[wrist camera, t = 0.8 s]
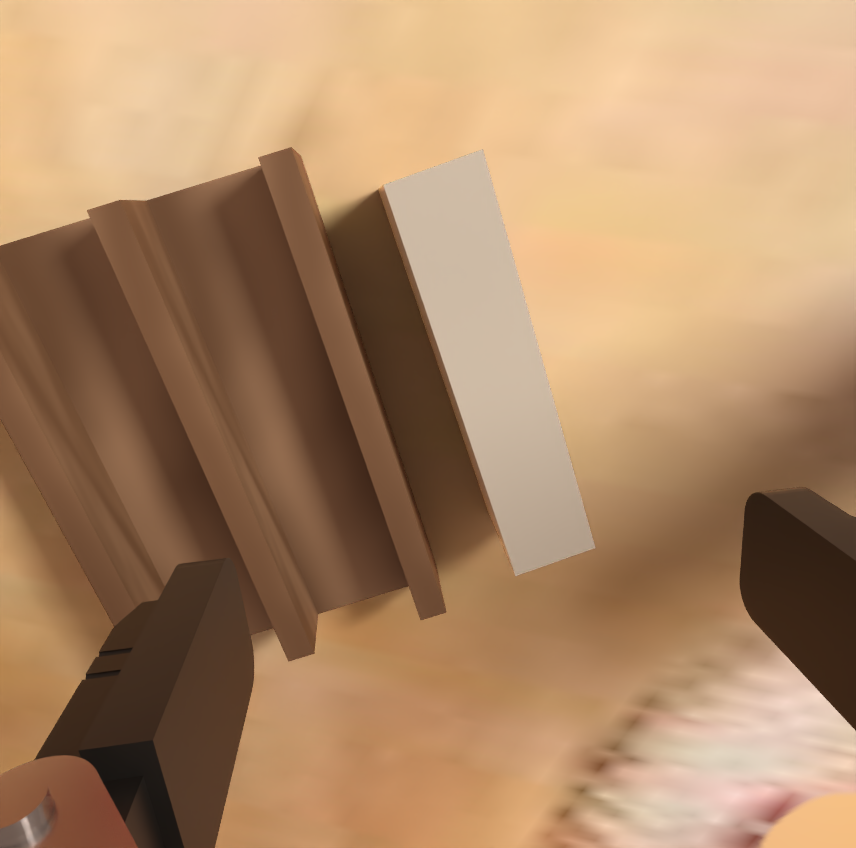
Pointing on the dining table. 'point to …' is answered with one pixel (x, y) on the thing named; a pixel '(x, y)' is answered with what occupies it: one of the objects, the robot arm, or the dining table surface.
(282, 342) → the rack
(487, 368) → the cream rectangular block
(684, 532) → the dining table surface
